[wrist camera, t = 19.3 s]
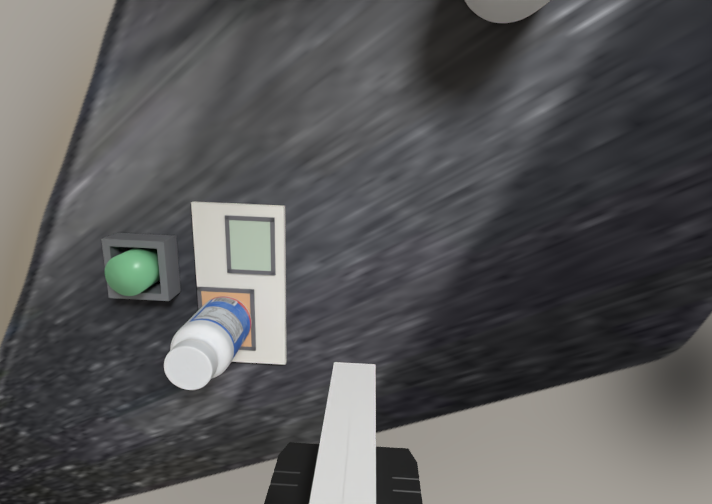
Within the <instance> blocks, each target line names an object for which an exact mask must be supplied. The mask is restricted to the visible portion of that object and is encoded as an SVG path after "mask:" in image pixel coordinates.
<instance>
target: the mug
mask: <svg viewBox="0 0 712 504" xmlns="http://www.w3.org/2000/svg"><path fill="white" fill-rule="evenodd" d="M464 1H465V2H466V4H467V5H468V7H469V8H470V9H471V10H472V11H473V12H474V13H475V14H477V15H478V16H479V17H481V18H483V19H485V20H487V21H490V22H494V23H511V22H515V21H519V20H522V19H524V18H526V17H528V16H530V15H531V14H533V13H535V12H536V11H537V10H539V9H540V8H541V7H543V6H544V5H545V4H547V3H548V2H549V1H550V0H464Z"/></svg>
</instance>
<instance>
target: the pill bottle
mask: <svg viewBox="0 0 712 504" xmlns="http://www.w3.org/2000/svg"><path fill="white" fill-rule="evenodd" d="M251 324H252V320H251V315H250V313H249V311H248V309H247V307H246V306H245V305H244V304H243V303H242V302H241V301H239V300H237V299H235V298H233V297H228V296H219V297H215V298H213V299H211V300H209V301H208V302H207V303H205V304H204V305H203V306H202V307H201V308H200V309H199V310H198V311H197V312H196V313H195V314H194V315H193V316H192V317H191V318H190V319H189V320H188V321H187V322H186V323H185V324H184V325H183V326H182V327H181V328H180V329H179V330H178V331H177V333H176V334H175V335H174V337H173V339H172V342H171V347H170V352H169V353H168V354H167V356H166V358H165V361H164V370H165V373H166V376H167V377H168V379H169V380H170V381H171V382H172V383H173V384H174V385H176V386H178V387H180V388H182V389H186V390H196V389H200V388H202V387H204V386H205V385H206V384H207V383H208V382H209V381H210V380H211V378H215V377H217V376H219V375H220V374H222V373H223V372H224V371H225V370H226V369H227V368H228V366H229V365H230V363H231V361H232V360H233V358H234V357H235V355H236V353H237V352H238V350H239V349H240V347H241V345H242V344H243V342H244V341H245V339H246V337H247V336H248V334H249V332H250V329H251Z"/></svg>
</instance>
